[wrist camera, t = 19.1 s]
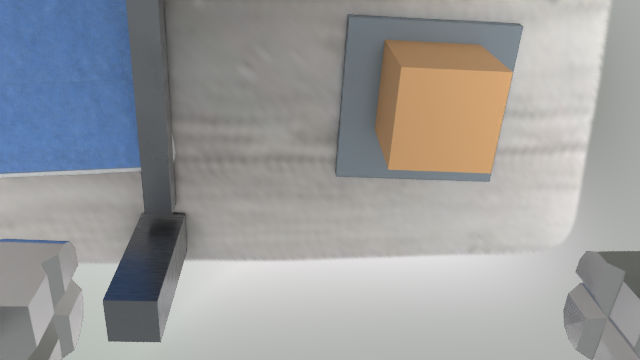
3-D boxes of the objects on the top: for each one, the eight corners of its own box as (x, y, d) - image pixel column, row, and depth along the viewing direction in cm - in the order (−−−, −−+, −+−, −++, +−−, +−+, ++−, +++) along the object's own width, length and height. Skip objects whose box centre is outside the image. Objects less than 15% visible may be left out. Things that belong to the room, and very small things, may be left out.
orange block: (374, 129, 32) (388, 169, 27) (384, 39, 30) (401, 67, 25) (463, 133, 32) (490, 173, 28) (479, 44, 30) (513, 72, 26)
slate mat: (335, 171, 34) (336, 176, 33) (348, 14, 30) (349, 16, 29) (486, 177, 34) (489, 181, 34) (519, 23, 30) (523, 26, 30)
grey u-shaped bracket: (145, 248, 35) (108, 341, 28) (113, -103, 26) (47, -97, 19) (337, 253, 36) (348, 344, 29) (367, -86, 27) (394, -75, 20)
